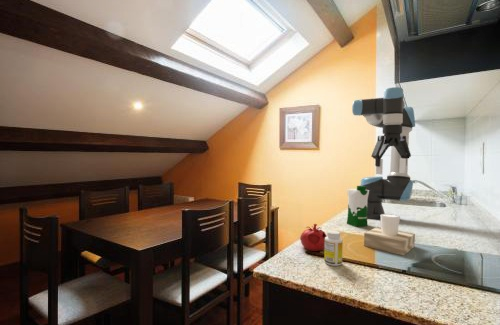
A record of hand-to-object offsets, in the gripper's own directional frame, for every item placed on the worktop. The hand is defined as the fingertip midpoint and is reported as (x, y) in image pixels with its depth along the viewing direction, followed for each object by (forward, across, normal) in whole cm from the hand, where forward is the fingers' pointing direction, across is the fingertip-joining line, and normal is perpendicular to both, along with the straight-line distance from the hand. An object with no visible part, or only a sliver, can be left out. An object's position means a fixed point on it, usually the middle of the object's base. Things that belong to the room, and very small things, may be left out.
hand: (391, 173), depth 119 cm
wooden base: (+27, +12, +10) cm, 31 cm away
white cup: (+22, +12, +10) cm, 27 cm away
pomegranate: (+27, +41, +3) cm, 49 cm away
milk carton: (+28, 0, -20) cm, 35 cm away
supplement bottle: (+26, +44, +18) cm, 54 cm away
